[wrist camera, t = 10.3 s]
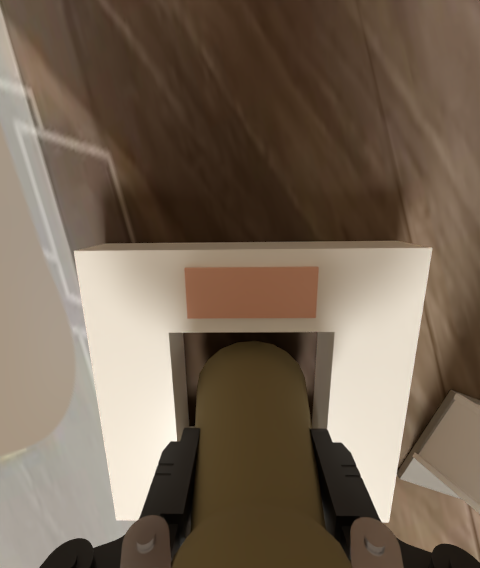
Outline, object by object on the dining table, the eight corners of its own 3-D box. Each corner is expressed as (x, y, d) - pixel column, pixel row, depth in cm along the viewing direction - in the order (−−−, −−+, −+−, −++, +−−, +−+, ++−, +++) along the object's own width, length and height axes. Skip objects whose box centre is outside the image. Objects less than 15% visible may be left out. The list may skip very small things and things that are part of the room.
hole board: (397, 240, 15) (435, 248, 12) (367, 475, 20) (390, 526, 16) (105, 243, 16) (71, 251, 13) (135, 474, 20) (114, 523, 17)
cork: (182, 356, 15) (44, 691, 5) (292, 328, 15) (417, 630, 4) (215, 445, 17) (166, 857, 6) (316, 422, 16) (455, 825, 6)
